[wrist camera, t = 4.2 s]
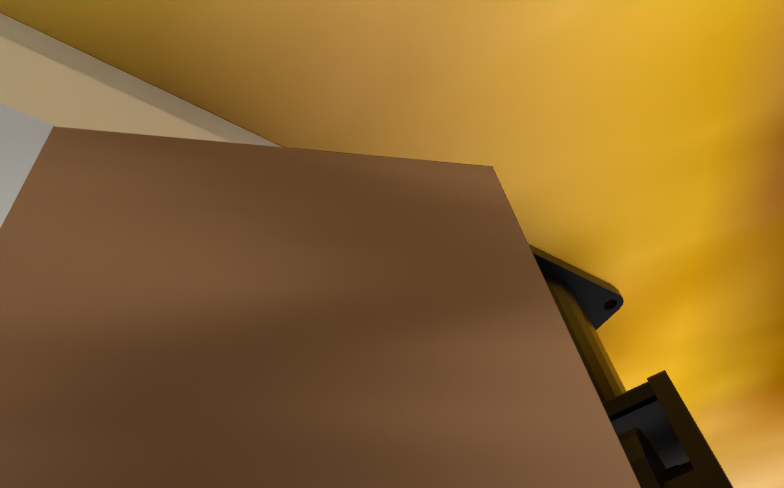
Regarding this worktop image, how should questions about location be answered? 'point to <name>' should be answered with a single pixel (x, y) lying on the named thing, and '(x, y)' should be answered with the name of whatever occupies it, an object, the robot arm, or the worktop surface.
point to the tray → (82, 104)
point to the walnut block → (281, 326)
